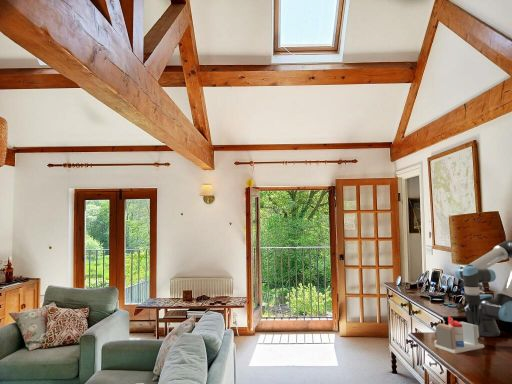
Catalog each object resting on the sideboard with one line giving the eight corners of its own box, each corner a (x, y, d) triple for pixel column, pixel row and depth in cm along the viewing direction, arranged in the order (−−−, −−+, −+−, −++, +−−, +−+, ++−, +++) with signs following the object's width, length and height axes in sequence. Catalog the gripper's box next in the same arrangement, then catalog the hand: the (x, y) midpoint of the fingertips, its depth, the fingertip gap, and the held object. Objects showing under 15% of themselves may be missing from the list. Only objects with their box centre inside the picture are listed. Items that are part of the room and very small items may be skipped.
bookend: (463, 339, 210) (462, 321, 211) (478, 343, 202) (476, 325, 203) (460, 340, 209) (458, 322, 211) (474, 344, 201) (473, 325, 202)
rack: (463, 341, 213) (461, 318, 214) (484, 347, 201) (481, 323, 202) (434, 346, 205) (432, 323, 206) (454, 353, 193) (452, 328, 194)
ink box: (464, 347, 198) (461, 318, 200) (454, 346, 199) (452, 318, 201) (459, 342, 206) (456, 315, 208) (449, 342, 207) (447, 315, 209)
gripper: (474, 292, 216) (478, 334, 214) (458, 294, 212) (461, 336, 209) (486, 294, 209) (490, 337, 207) (469, 296, 205) (473, 340, 202)
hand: (475, 337), depth 208 cm, fingers closed
